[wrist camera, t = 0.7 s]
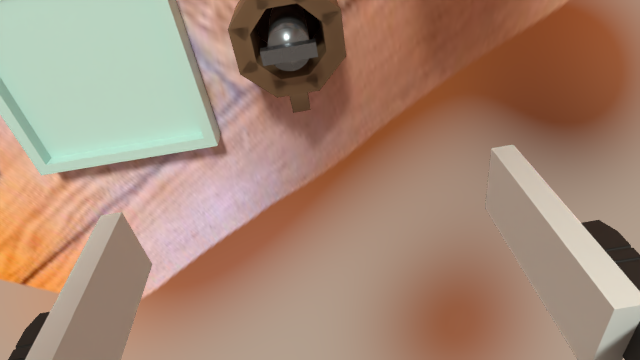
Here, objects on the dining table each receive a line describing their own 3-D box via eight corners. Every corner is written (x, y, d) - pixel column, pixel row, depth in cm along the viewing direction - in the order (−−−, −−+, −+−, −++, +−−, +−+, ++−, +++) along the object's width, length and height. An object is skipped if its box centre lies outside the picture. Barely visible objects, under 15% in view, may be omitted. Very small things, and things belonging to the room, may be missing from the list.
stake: (261, 5, 34) (256, 37, 28) (307, -3, 34) (313, 27, 27) (269, 41, 36) (266, 79, 29) (312, 34, 36) (320, 70, 29)
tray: (-69, -24, 31) (-89, -18, 30) (154, -65, 31) (146, -61, 29) (51, 162, 41) (41, 175, 40) (220, 134, 41) (217, 145, 39)
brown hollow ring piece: (222, -45, 32) (211, -30, 27) (325, -64, 32) (333, -52, 27) (256, 88, 38) (252, 119, 34) (342, 73, 38) (351, 102, 33)
